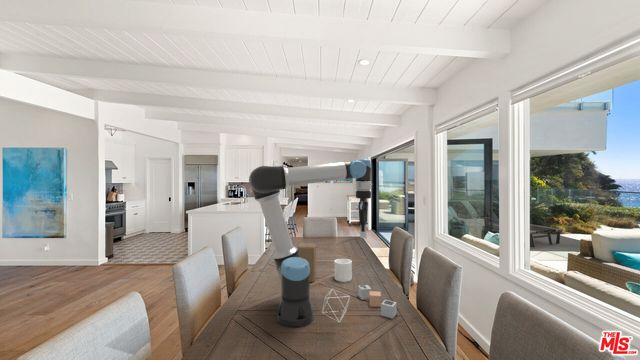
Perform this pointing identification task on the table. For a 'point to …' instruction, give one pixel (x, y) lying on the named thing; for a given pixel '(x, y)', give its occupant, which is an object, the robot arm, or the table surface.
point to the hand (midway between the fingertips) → (363, 237)
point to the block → (309, 257)
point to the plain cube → (375, 299)
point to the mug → (343, 270)
